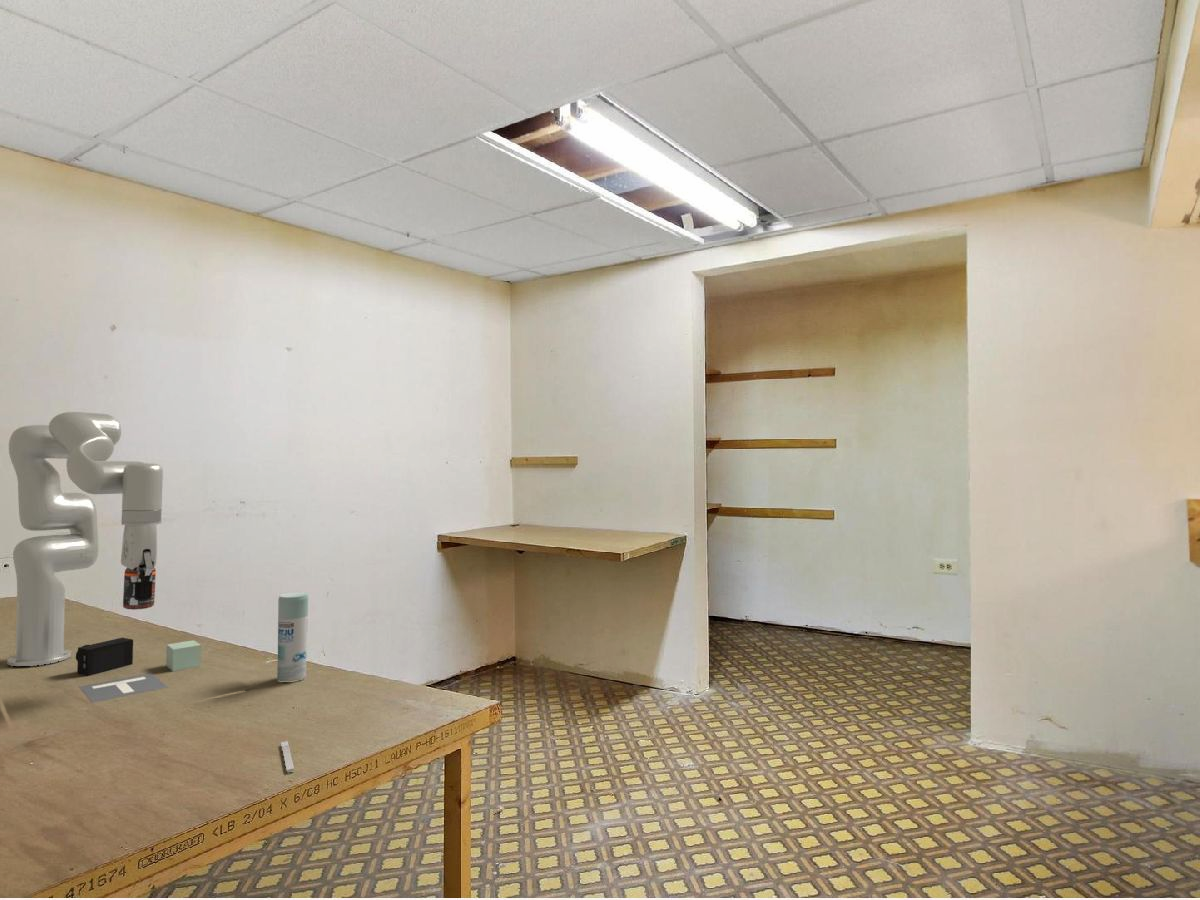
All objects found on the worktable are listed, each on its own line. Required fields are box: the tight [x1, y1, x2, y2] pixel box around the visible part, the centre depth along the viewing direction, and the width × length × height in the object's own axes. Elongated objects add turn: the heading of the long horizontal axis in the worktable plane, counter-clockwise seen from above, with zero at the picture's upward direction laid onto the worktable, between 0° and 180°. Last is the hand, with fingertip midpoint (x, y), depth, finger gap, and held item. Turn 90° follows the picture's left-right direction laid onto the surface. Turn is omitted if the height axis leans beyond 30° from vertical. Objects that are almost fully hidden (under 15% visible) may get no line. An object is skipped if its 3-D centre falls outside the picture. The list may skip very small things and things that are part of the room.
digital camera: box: [75, 637, 134, 677], centre depth 166 cm, size 10×5×7 cm, turn 157°
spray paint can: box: [276, 591, 309, 681], centre depth 162 cm, size 6×6×20 cm
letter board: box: [78, 672, 169, 703], centre depth 153 cm, size 14×14×1 cm
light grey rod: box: [280, 740, 295, 772], centre depth 120 cm, size 12×1×1 cm, turn 29°
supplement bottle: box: [122, 565, 157, 610], centre depth 155 cm, size 6×6×11 cm
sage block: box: [165, 640, 202, 672], centre depth 169 cm, size 6×6×6 cm
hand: (139, 595), depth 155 cm, fingers closed on supplement bottle, 6 cm apart
